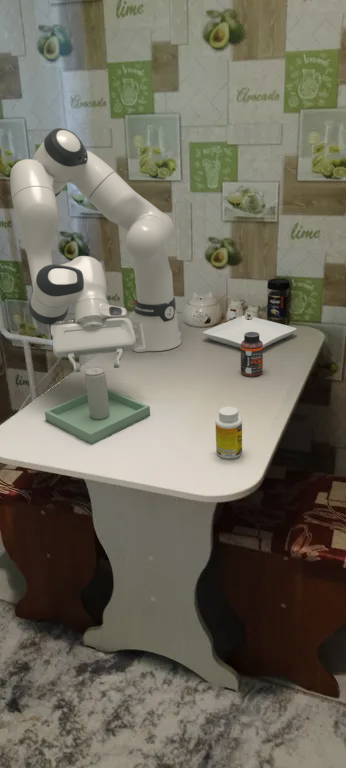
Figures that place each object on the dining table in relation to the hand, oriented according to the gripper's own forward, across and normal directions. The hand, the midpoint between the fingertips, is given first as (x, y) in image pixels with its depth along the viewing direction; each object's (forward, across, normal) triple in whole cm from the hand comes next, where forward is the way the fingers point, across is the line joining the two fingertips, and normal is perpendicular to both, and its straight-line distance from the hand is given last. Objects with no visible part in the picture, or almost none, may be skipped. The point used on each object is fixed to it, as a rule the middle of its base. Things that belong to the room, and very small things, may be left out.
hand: (97, 369), depth 155 cm
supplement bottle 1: (+27, +27, -10) cm, 39 cm away
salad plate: (-19, +46, +37) cm, 62 cm away
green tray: (+10, -1, +6) cm, 12 cm away
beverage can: (+10, -1, +5) cm, 12 cm away
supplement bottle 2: (-1, +41, +18) cm, 45 cm away
